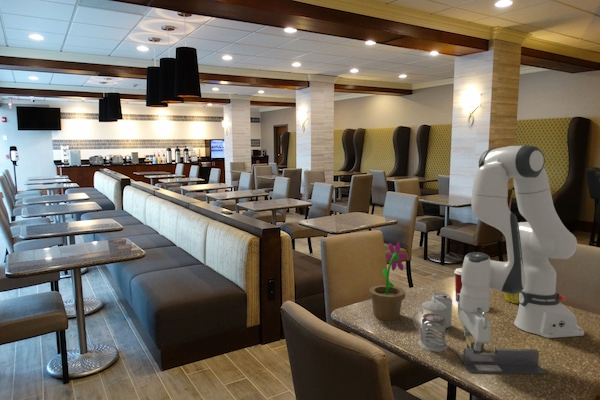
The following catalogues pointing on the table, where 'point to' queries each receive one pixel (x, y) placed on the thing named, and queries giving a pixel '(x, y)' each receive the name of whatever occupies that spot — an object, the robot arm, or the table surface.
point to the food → (512, 297)
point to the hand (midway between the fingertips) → (472, 343)
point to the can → (446, 313)
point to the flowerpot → (388, 290)
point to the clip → (472, 344)
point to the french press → (427, 336)
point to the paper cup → (458, 281)
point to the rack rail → (503, 361)
